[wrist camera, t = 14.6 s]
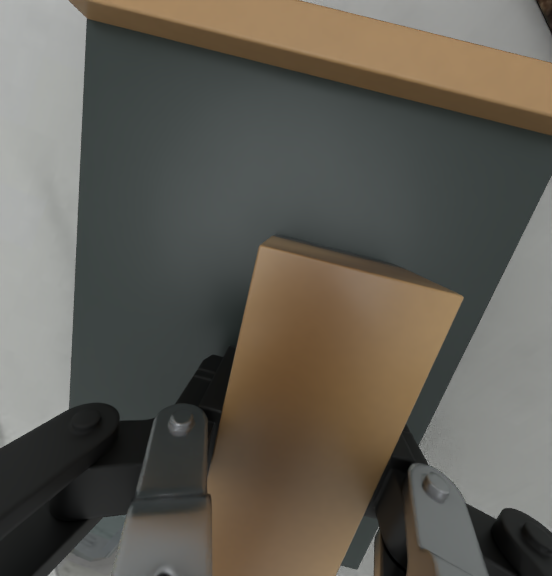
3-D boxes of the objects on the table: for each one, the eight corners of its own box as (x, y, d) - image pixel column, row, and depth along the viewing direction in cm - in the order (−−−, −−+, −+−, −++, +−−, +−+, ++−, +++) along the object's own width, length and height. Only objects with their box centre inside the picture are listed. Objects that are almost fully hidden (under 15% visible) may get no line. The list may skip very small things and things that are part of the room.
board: (352, 543, 15) (362, 597, 13) (82, 468, 15) (47, 509, 13) (553, 113, 9) (631, 81, 7) (113, 2, 9) (59, -62, 7)
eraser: (396, 264, 9) (465, 296, 6) (312, 489, 12) (319, 612, 8) (273, 233, 9) (258, 244, 6) (219, 465, 12) (184, 577, 8)
